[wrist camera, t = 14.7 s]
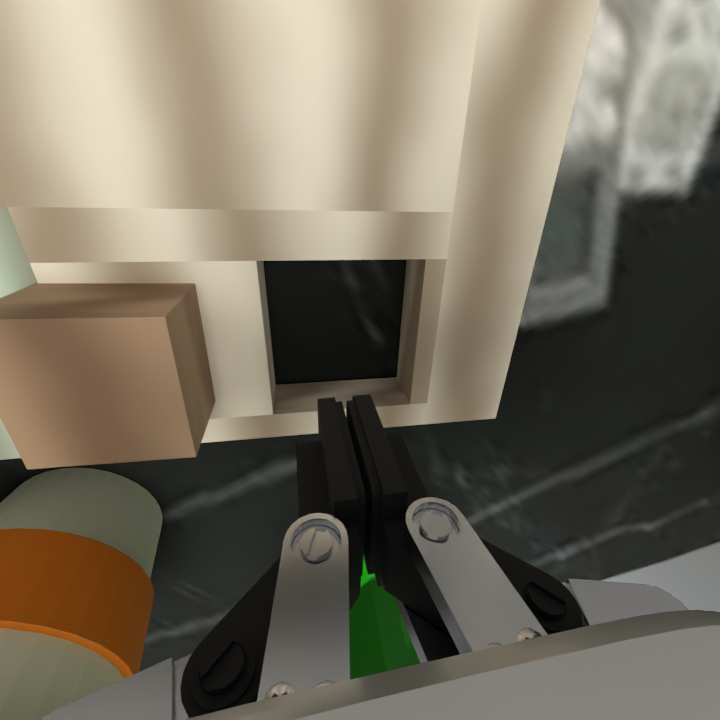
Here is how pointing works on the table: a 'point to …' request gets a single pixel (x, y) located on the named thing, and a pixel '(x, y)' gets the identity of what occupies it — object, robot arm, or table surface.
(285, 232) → the board
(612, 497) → the table surface
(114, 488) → the reusable coffee cup
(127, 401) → the block
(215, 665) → the robot arm
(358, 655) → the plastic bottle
